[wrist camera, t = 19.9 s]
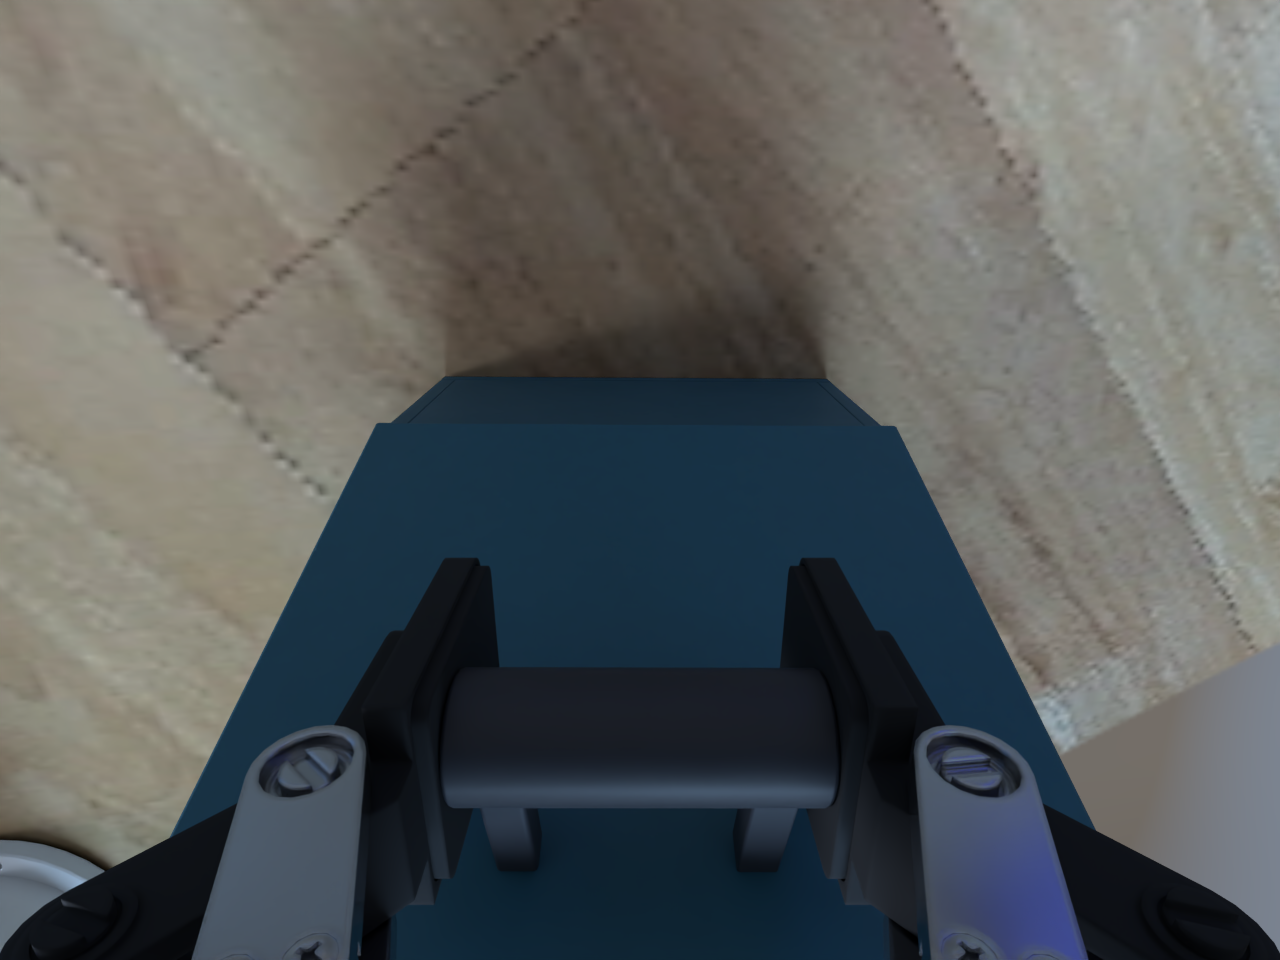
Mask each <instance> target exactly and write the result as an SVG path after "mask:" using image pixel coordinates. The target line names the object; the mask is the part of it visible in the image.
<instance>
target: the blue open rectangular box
mask: <svg viewBox="0 0 1280 960" xmlns="http://www.w3.org/2000/svg"><path fill="white" fill-rule="evenodd" d="M392 423H471V424H643V425H815V426H881V425H880V424H878V423H877V422H876V421H875V420H874V419H873V418H871V417H870V416H869V415H868V414H867V413H866V412H865V411H863V410H862V409H861V408H860V407H859V406H858V405H856V404H855V403H854V402H853V401H852V400H851V399H849V398H848V397H847V396H846V395H845V394H844V393H842V392H841V391H840V390H839V389H838V388H837V387H835V386H834V385H833V384H832V383H831V382H830V381H829V380H828V379H747V378H592V377H444V378H443V379H442V380H441V381H439V382H438V383H437V384H436V385H435V386H434V387H432V388H431V389H430V390H429V391H428V392H427V393H425V394H424V395H423V396H422V397H421V398H420V399H418V400H417V401H416V402H415V403H414V404H413V405H411V406H410V407H409V408H408V409H407V410H406V411H404V412H403V413H402V414H401V415H400V416H399V417H397V418H396V419H395V420H394V421H393V422H392Z"/></svg>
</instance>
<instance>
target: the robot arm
mask: <svg viewBox="0 0 1280 960" xmlns="http://www.w3.org/2000/svg"><path fill="white" fill-rule="evenodd" d="M464 667H499V656H498V644H497V633H496V621H495V610H494V599H493V587H492V576H491V569H490V567H489V566H480V562H479V559H478V558H445V559H444V560H443V561H442V563H441V565H440V567H439V569H438V570H437V572H436V574H435V576H434V578H433V579H432V581H431V583H430V585H429V587H428V588H427V590H426V592H425V594H424V595H423V597H422V599H421V601H420V603H419V604H418V606H417V608H416V610H415V612H414V613H413V615H412V617H411V619H410V621H409V622H408V624H407V626H406V628H405V630H394V631H391V632H390V633H389V634H388V635H387V636H386V638H385V640H384V641H383V643H382V645H381V646H380V648H379V650H378V651H377V653H376V655H375V656H374V658H373V660H372V662H371V663H370V665H369V667H368V668H367V670H366V672H365V673H364V675H363V677H362V678H361V680H360V682H359V684H358V685H357V687H356V689H355V690H354V692H353V694H352V695H351V697H350V699H349V700H348V702H347V704H346V705H345V707H344V709H343V711H342V712H341V714H340V716H339V717H338V719H337V721H336V722H335V724H334V725H326V726H315V727H311V728H307V729H304V730H300V731H296V732H294V733H292V734H290V735H288V736H286V737H284V738H281V739H279V740H278V741H276V742H275V743H274V744H272V745H271V746H269V747H268V748H266V749H265V750H264V751H263V752H262V753H261V754H260V755H259V756H258V757H257V758H256V759H255V760H254V761H253V762H252V764H251V766H250V768H249V770H248V772H247V774H246V776H245V780H244V783H243V786H242V790H241V793H240V797H239V800H238V803H236V804H234V805H232V806H230V807H229V808H227V809H225V810H223V811H221V812H219V813H217V814H215V815H213V816H211V817H209V818H207V819H205V820H203V821H201V822H200V823H198V824H196V825H194V826H192V827H190V828H188V829H186V830H184V831H182V832H180V833H178V834H176V835H174V836H172V837H171V838H169V839H167V840H165V841H163V842H161V843H159V844H157V845H155V846H153V847H151V848H149V849H147V850H145V851H144V852H142V853H140V854H138V855H136V856H134V857H132V858H130V859H128V860H126V861H124V862H122V863H120V864H118V865H116V866H115V867H113V868H111V869H109V870H107V871H104V870H103V869H101V868H99V867H98V866H96V865H94V864H93V863H91V862H89V861H88V860H85V859H83V858H81V857H79V856H76V855H74V854H72V853H69V852H67V851H64V850H61V849H58V848H54V847H51V846H47V845H44V844H38V843H32V842H26V841H16V840H0V960H396V951H397V919H396V913H397V912H399V911H400V910H402V909H403V908H404V907H406V906H407V905H434V904H435V901H436V898H437V894H438V891H439V887H440V884H441V881H442V879H452V878H453V877H454V875H455V872H456V869H457V866H458V862H459V859H460V855H461V851H462V848H463V844H464V841H465V837H466V833H467V830H468V826H469V822H470V819H471V815H472V812H473V808H452V807H450V806H448V805H447V804H446V802H445V800H444V797H443V793H442V788H441V781H440V765H439V758H440V738H441V728H442V721H443V714H444V709H445V704H446V700H447V696H448V692H449V689H450V686H451V684H452V681H453V679H454V677H455V675H456V673H457V672H458V671H459V670H460V669H462V668H464ZM780 668H815V669H817V670H819V671H820V672H822V674H823V675H824V677H825V679H826V681H827V683H828V686H829V689H830V692H831V695H832V698H833V702H834V707H835V711H836V717H837V724H838V732H839V744H840V773H839V783H838V789H837V793H836V797H835V800H834V802H833V804H832V805H831V806H829V807H827V808H806V810H807V813H808V817H809V821H810V824H811V828H812V832H813V835H814V839H815V842H816V846H817V850H818V853H819V857H820V860H821V864H822V868H823V871H824V874H825V876H826V878H828V879H838V882H839V886H840V889H841V892H842V896H843V899H844V903H845V905H872V906H874V907H875V908H876V909H878V910H879V911H881V912H882V913H883V914H884V919H883V952H884V960H1280V953H1279V951H1278V949H1277V947H1276V945H1275V943H1274V942H1273V941H1272V940H1271V939H1270V938H1269V936H1268V935H1267V934H1266V933H1265V932H1264V931H1263V929H1262V928H1261V927H1260V926H1259V925H1258V924H1257V923H1256V922H1255V921H1254V920H1253V919H1251V918H1250V917H1249V916H1248V915H1247V914H1245V913H1244V912H1243V911H1242V910H1241V909H1239V908H1238V907H1237V906H1236V905H1234V904H1233V903H1231V902H1229V901H1228V900H1226V899H1225V898H1223V897H1221V896H1220V895H1218V894H1216V893H1215V892H1213V891H1211V890H1210V889H1208V888H1206V887H1204V886H1202V885H1200V884H1198V883H1196V882H1194V881H1192V880H1190V879H1188V878H1186V877H1184V876H1183V875H1181V874H1179V873H1177V872H1175V871H1173V870H1171V869H1169V868H1167V867H1165V866H1163V865H1161V864H1159V863H1157V862H1155V861H1154V860H1152V859H1150V858H1148V857H1146V856H1144V855H1142V854H1140V853H1138V852H1136V851H1134V850H1132V849H1130V848H1128V847H1126V846H1125V845H1123V844H1121V843H1119V842H1117V841H1115V840H1113V839H1111V838H1109V837H1107V836H1105V835H1103V834H1101V833H1099V832H1097V831H1096V830H1094V829H1092V828H1090V827H1088V826H1086V825H1084V824H1082V823H1080V822H1078V821H1076V820H1074V819H1072V818H1070V817H1068V816H1067V815H1065V814H1063V813H1061V812H1059V811H1057V810H1055V809H1053V808H1051V807H1049V806H1047V805H1045V804H1043V803H1042V800H1041V797H1040V793H1039V790H1038V786H1037V783H1036V780H1035V776H1034V774H1033V772H1032V770H1031V768H1030V766H1029V764H1028V762H1027V761H1026V760H1025V759H1024V758H1023V757H1022V756H1021V755H1020V754H1019V753H1018V752H1017V751H1016V750H1015V749H1014V748H1012V747H1011V746H1009V745H1008V744H1006V743H1005V742H1004V741H1002V740H1001V739H999V738H996V737H994V736H992V735H990V734H988V733H986V732H984V731H980V730H976V729H973V728H969V727H965V726H954V725H945V723H944V722H943V720H942V718H941V717H940V715H939V713H938V711H937V710H936V708H935V706H934V705H933V703H932V701H931V700H930V698H929V696H928V695H927V693H926V691H925V690H924V688H923V686H922V684H921V683H920V681H919V679H918V678H917V676H916V674H915V673H914V671H913V669H912V668H911V666H910V664H909V662H908V661H907V659H906V657H905V656H904V654H903V652H902V651H901V649H900V647H899V646H898V644H897V642H896V641H895V639H894V637H893V636H892V635H891V633H890V632H888V631H885V630H875V629H874V627H873V625H872V623H871V622H870V620H869V618H868V616H867V614H866V613H865V611H864V609H863V607H862V605H861V604H860V602H859V600H858V598H857V597H856V595H855V593H854V591H853V589H852V588H851V586H850V584H849V582H848V580H847V579H846V577H845V575H844V573H843V571H842V570H841V568H840V566H839V564H838V563H837V561H836V559H835V558H801V560H800V563H799V566H790V567H789V571H788V581H787V592H786V603H785V615H784V626H783V638H782V649H781V661H780Z"/></svg>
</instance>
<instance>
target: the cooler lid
mask: <svg viewBox="0 0 1280 960" xmlns="http://www.w3.org/2000/svg"><path fill="white" fill-rule="evenodd" d="M445 558H478V559H479V562H480V566H489V567H490V569H491V576H492V587H493V599H494V610H495V621H496V633H497V644H498V656H499V667H464V668H462V669H460V670H459V671H458V672H457V673H456V675H455V677H454V679H453V681H452V684H451V686H450V689H449V692H448V696H447V700H446V704H445V709H444V714H443V721H442V728H441V738H440V758H439V765H440V781H441V788H442V793H443V797H444V800H445V802H446V804H447V805H448V806H450V807H452V808H473V812H472V815H471V819H470V822H469V826H468V830H467V833H466V837H465V841H464V844H463V848H462V851H461V855H460V859H459V862H458V866H457V869H456V872H455V875H454V877H453V878H452V879H442V881H441V884H440V887H439V891H438V894H437V898H436V901H435V904H434V905H407V906H406V907H404V908H403V909H402V910H400V911H399V912H397V913H396V919H397V951H396V960H884V952H883V919H884V914H883V913H882V912H881V911H879V910H878V909H876V908H875V907H874V906H872V905H845V903H844V899H843V896H842V892H841V889H840V886H839V882H838V879H828V878H826V876H825V874H824V871H823V868H822V864H821V860H820V857H819V853H818V850H817V846H816V842H815V839H814V835H813V832H812V828H811V824H810V821H809V817H808V813H807V810H806V808H827V807H829V806H831V805H832V804H833V802H834V800H835V797H836V793H837V789H838V783H839V773H840V744H839V732H838V724H837V717H836V711H835V707H834V702H833V698H832V695H831V692H830V689H829V686H828V683H827V681H826V679H825V677H824V675H823V674H822V672H820V671H819V670H817V669H815V668H780V661H781V649H782V638H783V626H784V615H785V603H786V592H787V581H788V571H789V567H790V566H799V563H800V560H801V558H835V559H836V561H837V563H838V564H839V566H840V568H841V570H842V571H843V573H844V575H845V577H846V579H847V580H848V582H849V584H850V586H851V588H852V589H853V591H854V593H855V595H856V597H857V598H858V600H859V602H860V604H861V605H862V607H863V609H864V611H865V613H866V614H867V616H868V618H869V620H870V622H871V623H872V625H873V627H874V629H875V630H885V631H888V632H890V633H891V635H892V636H893V637H894V639H895V641H896V642H897V644H898V646H899V647H900V649H901V651H902V652H903V654H904V656H905V657H906V659H907V661H908V662H909V664H910V666H911V668H912V669H913V671H914V673H915V674H916V676H917V678H918V679H919V681H920V683H921V684H922V686H923V688H924V690H925V691H926V693H927V695H928V696H929V698H930V700H931V701H932V703H933V705H934V706H935V708H936V710H937V711H938V713H939V715H940V717H941V718H942V720H943V722H944V723H945V725H954V726H965V727H969V728H973V729H976V730H980V731H984V732H986V733H988V734H990V735H992V736H994V737H996V738H999V739H1001V740H1002V741H1004V742H1005V743H1006V744H1008V745H1009V746H1011V747H1012V748H1014V749H1015V750H1016V751H1017V752H1018V753H1019V754H1020V755H1021V756H1022V757H1023V758H1024V759H1025V760H1026V761H1027V762H1028V764H1029V766H1030V768H1031V770H1032V772H1033V774H1034V776H1035V780H1036V783H1037V786H1038V790H1039V793H1040V797H1041V800H1042V803H1043V804H1045V805H1047V806H1049V807H1051V808H1053V809H1055V810H1057V811H1059V812H1061V813H1063V814H1065V815H1067V816H1068V817H1070V818H1072V819H1074V820H1076V821H1078V822H1080V823H1082V824H1084V825H1086V826H1088V827H1090V828H1092V829H1094V830H1095V828H1094V826H1093V824H1092V822H1091V819H1090V817H1089V816H1088V813H1087V811H1086V810H1085V807H1084V805H1083V803H1082V801H1081V799H1080V797H1079V795H1078V793H1077V791H1076V789H1075V787H1074V785H1073V783H1072V781H1071V779H1070V777H1069V775H1068V773H1067V771H1066V769H1065V767H1064V765H1063V763H1062V761H1061V759H1060V757H1059V755H1058V753H1057V751H1056V749H1055V747H1054V745H1053V743H1052V741H1051V739H1050V737H1049V735H1048V733H1047V731H1046V729H1045V727H1044V725H1043V723H1042V721H1041V719H1040V717H1039V715H1038V713H1037V710H1036V708H1035V706H1034V704H1033V702H1032V700H1031V698H1030V696H1029V694H1028V692H1027V690H1026V688H1025V686H1024V684H1023V682H1022V680H1021V678H1020V676H1019V674H1018V672H1017V670H1016V668H1015V666H1014V664H1013V662H1012V660H1011V658H1010V656H1009V654H1008V652H1007V650H1006V648H1005V646H1004V644H1003V642H1002V640H1001V638H1000V636H999V634H998V632H997V630H996V628H995V626H994V624H993V622H992V620H991V618H990V616H989V614H988V612H987V610H986V608H985V606H984V604H983V601H982V599H981V597H980V595H979V593H978V591H977V589H976V587H975V585H974V583H973V581H972V579H971V577H970V575H969V573H968V571H967V569H966V567H965V565H964V563H963V561H962V559H961V557H960V555H959V553H958V551H957V549H956V547H955V545H954V543H953V541H952V539H951V537H950V535H949V533H948V531H947V529H946V527H945V525H944V523H943V521H942V519H941V517H940V515H939V513H938V511H937V509H936V507H935V505H934V503H933V501H932V499H931V497H930V495H929V492H928V490H927V488H926V486H925V484H924V482H923V480H922V478H921V476H920V474H919V472H918V470H917V468H916V466H915V464H914V462H913V460H912V458H911V456H910V454H909V452H908V450H907V448H906V446H905V444H904V442H903V440H902V438H901V436H900V434H899V432H898V430H897V428H896V427H895V426H815V425H643V424H471V423H377V424H376V426H375V428H374V430H373V432H372V434H371V436H370V438H369V440H368V442H367V444H366V446H365V448H364V450H363V452H362V454H361V456H360V458H359V460H358V462H357V464H356V466H355V468H354V470H353V472H352V474H351V476H350V478H349V480H348V482H347V484H346V486H345V488H344V490H343V492H342V494H341V496H340V498H339V500H338V502H337V504H336V506H335V508H334V510H333V512H332V514H331V516H330V518H329V520H328V522H327V524H326V526H325V528H324V530H323V532H322V534H321V536H320V538H319V540H318V542H317V544H316V546H315V548H314V550H313V552H312V554H311V556H310V558H309V560H308V562H307V564H306V566H305V568H304V570H303V572H302V574H301V576H300V578H299V580H298V582H297V584H296V586H295V588H294V590H293V592H292V594H291V596H290V598H289V600H288V602H287V604H286V606H285V608H284V610H283V612H282V614H281V616H280V618H279V620H278V622H277V624H276V626H275V628H274V630H273V632H272V634H271V636H270V638H269V640H268V642H267V644H266V646H265V648H264V650H263V652H262V654H261V656H260V658H259V660H258V662H257V664H256V666H255V668H254V670H253V672H252V674H251V676H250V678H249V680H248V682H247V684H246V686H245V688H244V690H243V692H242V694H241V696H240V698H239V700H238V702H237V704H236V706H235V708H234V710H233V712H232V714H231V716H230V718H229V720H228V722H227V724H226V726H225V728H224V730H223V732H222V734H221V736H220V738H219V740H218V742H217V744H216V746H215V748H214V750H213V752H212V754H211V756H210V758H209V760H208V762H207V764H206V766H205V768H204V770H203V772H202V774H201V776H200V778H199V780H198V782H197V784H196V786H195V788H194V790H193V792H192V794H191V796H190V798H189V800H188V802H187V804H186V806H185V808H184V810H183V812H182V814H181V816H180V818H179V820H178V822H177V824H176V826H175V828H174V830H173V832H172V834H171V836H170V838H171V837H172V836H174V835H176V834H178V833H180V832H182V831H184V830H186V829H188V828H190V827H192V826H194V825H196V824H198V823H200V822H201V821H203V820H205V819H207V818H209V817H211V816H213V815H215V814H217V813H219V812H221V811H223V810H225V809H227V808H229V807H230V806H232V805H234V804H236V803H238V800H239V797H240V793H241V790H242V786H243V783H244V780H245V776H246V774H247V772H248V770H249V768H250V766H251V764H252V762H253V761H254V760H255V759H256V758H257V757H258V756H259V755H260V754H261V753H262V752H263V751H264V750H265V749H266V748H268V747H269V746H271V745H272V744H274V743H275V742H276V741H278V740H279V739H281V738H284V737H286V736H288V735H290V734H292V733H294V732H296V731H300V730H304V729H307V728H311V727H315V726H326V725H334V724H335V722H336V721H337V719H338V717H339V716H340V714H341V712H342V711H343V709H344V707H345V705H346V704H347V702H348V700H349V699H350V697H351V695H352V694H353V692H354V690H355V689H356V687H357V685H358V684H359V682H360V680H361V678H362V677H363V675H364V673H365V672H366V670H367V668H368V667H369V665H370V663H371V662H372V660H373V658H374V656H375V655H376V653H377V651H378V650H379V648H380V646H381V645H382V643H383V641H384V640H385V638H386V636H387V635H388V634H389V633H390V632H391V631H394V630H405V628H406V626H407V624H408V622H409V621H410V619H411V617H412V615H413V613H414V612H415V610H416V608H417V606H418V604H419V603H420V601H421V599H422V597H423V595H424V594H425V592H426V590H427V588H428V587H429V585H430V583H431V581H432V579H433V578H434V576H435V574H436V572H437V570H438V569H439V567H440V565H441V563H442V561H443V560H444V559H445Z"/></svg>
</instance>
